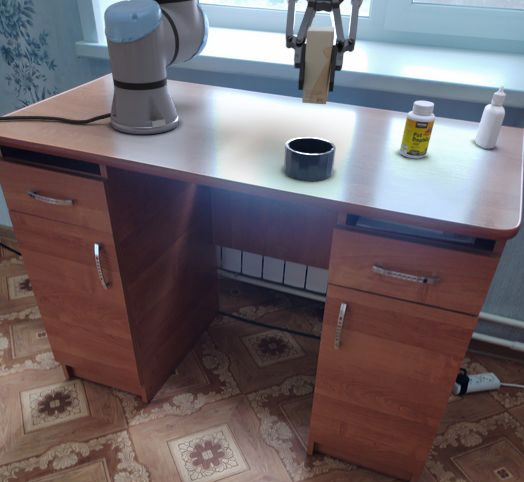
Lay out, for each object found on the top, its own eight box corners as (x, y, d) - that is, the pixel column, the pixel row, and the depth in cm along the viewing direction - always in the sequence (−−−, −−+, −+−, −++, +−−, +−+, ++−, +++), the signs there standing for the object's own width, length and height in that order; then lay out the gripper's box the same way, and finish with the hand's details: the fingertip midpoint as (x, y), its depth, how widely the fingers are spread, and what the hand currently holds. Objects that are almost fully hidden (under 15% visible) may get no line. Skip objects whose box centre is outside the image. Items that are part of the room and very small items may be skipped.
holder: (278, 177, 96) (280, 150, 93) (290, 159, 103) (292, 134, 100) (327, 184, 94) (330, 157, 91) (336, 166, 101) (339, 140, 98)
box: (325, 105, 88) (333, 31, 81) (301, 103, 89) (306, 29, 81) (328, 97, 92) (335, 26, 85) (304, 95, 92) (309, 24, 85)
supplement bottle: (406, 160, 105) (417, 107, 98) (395, 150, 109) (405, 99, 102) (430, 158, 106) (443, 106, 99) (418, 149, 110) (430, 98, 103)
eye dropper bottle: (494, 142, 114) (513, 84, 107) (493, 150, 111) (513, 91, 103) (474, 139, 116) (492, 82, 108) (472, 147, 112) (490, 88, 104)
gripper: (376, -24, 90) (364, 101, 88) (278, -29, 91) (265, 95, 90) (383, -61, 82) (371, 75, 81) (277, -65, 84) (263, 69, 82)
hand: (315, 85), depth 85 cm, fingers closed on box, 4 cm apart
